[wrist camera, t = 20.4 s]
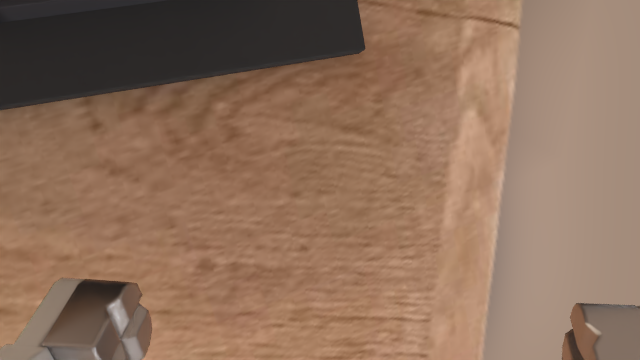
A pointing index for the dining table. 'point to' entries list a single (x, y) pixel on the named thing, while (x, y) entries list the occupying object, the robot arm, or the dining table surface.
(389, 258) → the dining table surface
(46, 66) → the dock pad
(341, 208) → the dining table surface
